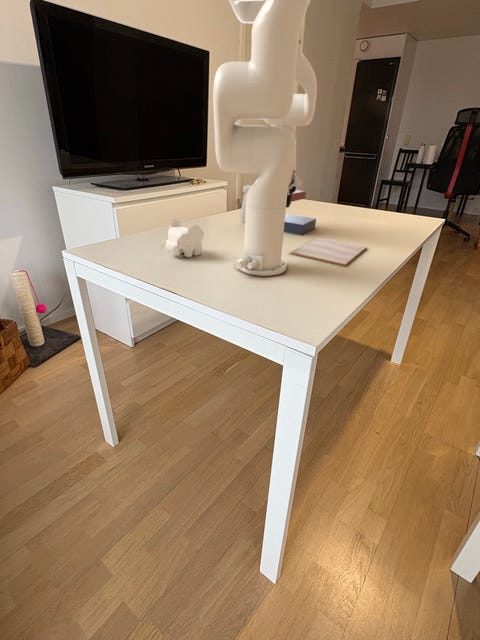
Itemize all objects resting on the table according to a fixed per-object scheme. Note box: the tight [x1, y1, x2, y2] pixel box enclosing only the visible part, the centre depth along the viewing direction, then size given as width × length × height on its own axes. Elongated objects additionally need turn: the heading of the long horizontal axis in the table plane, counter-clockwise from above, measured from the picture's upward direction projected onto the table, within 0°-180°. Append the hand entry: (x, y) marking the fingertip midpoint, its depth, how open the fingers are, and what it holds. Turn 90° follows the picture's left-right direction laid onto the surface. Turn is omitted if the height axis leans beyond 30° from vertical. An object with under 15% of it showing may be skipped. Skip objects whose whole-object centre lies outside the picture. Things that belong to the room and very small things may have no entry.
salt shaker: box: [239, 184, 252, 224], centre depth 128 cm, size 6×6×13 cm
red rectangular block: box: [291, 189, 307, 203], centre depth 117 cm, size 18×6×2 cm, turn 146°
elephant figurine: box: [160, 218, 205, 258], centre depth 92 cm, size 10×12×9 cm
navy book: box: [284, 213, 317, 236], centre depth 125 cm, size 12×17×4 cm
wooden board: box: [290, 237, 367, 267], centre depth 102 cm, size 20×16×1 cm
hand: (276, 205), depth 113 cm, fingers closed on red rectangular block, 6 cm apart
